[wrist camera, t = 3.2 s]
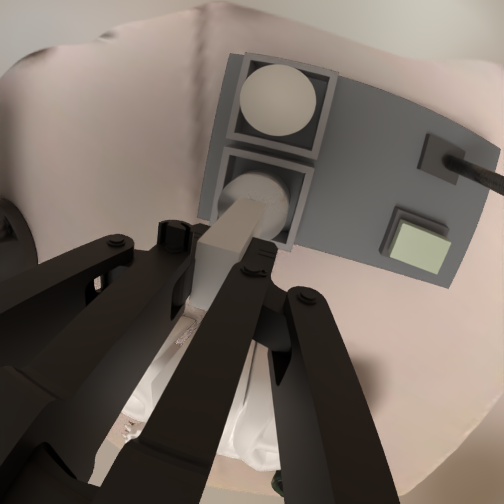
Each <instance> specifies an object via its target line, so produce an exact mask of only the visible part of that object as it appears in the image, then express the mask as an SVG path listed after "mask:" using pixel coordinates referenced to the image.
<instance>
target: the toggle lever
mask: <svg viewBox="0 0 504 504" xmlns="http://www.w3.org/2000/svg"><path fill="white" fill-rule="evenodd" d="M444 166H445V168H446V169H447V170H449V171H452V172H454V173H456V174H459V175H461V176H463V177H466V178H468V179H470V180H472V181H474V182H476V183H479V184H481V185H483V186H485V187H487V188H489V189H491V190H493V191H495V192H497V193H499V194H501V195H503V196H504V176H502V175H500V174H498V173H495V172H493V171H491V170H488V169H486V168H483V167H481V166H479V165H476V164H473V163H471V162H468V161H466V160H463V159H460V158H458V157H455V156H452V155H448V156H446V157H445V158H444Z"/></svg>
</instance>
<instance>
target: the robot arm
mask: <svg viewBox="0 0 504 504" xmlns="http://www.w3.org/2000/svg"><path fill="white" fill-rule="evenodd" d="M266 207H267V203H263V202H259V201H256V200H252V199H248V198H244V197H239V198H238V199H237V200H236V201H235V202H234V204H233V205H232V206H231V207H230V208H229V209H228V210H227V211H226V212H225V213H224V214H223V215H222V216H221V217H220V218H219V219H218V220H217V221H216V222H215V223H214V224H213V225H212V226H208V225H204V224H201V223H199V224H196V225H191V224H189V223H186V222H184V221H179V220H165V221H161V222H159V226H158V237H157V244H156V245H155V246H154V247H153V248H151V249H150V250H149V251H144V250H136V249H134V241H133V239H132V238H130V237H128V236H125V235H123V234H121V235H120V234H114V235H108V236H105V237H102V238H100V239H97V240H95V241H92V242H90V243H87V244H85V245H82V246H80V247H78V248H75V249H73V250H71V251H68V252H66V253H64V254H61V255H59V256H57V257H54V258H52V259H50V260H48V261H45V262H43V263H41V264H39V265H37V256H36V250H35V246H34V242H33V239H32V236H31V233H30V231H29V228H28V226H27V224H26V222H25V220H24V218H23V217H22V215H21V213H20V212H19V211H18V209H17V208H16V207H15V206H14V205H13V204H12V203H11V202H10V201H8V200H6V199H2V198H0V504H199V502H200V499H201V497H202V493H203V490H204V488H205V485H206V482H207V479H208V476H209V473H210V470H211V467H212V464H213V461H214V458H215V455H216V452H217V449H218V446H219V443H220V440H221V437H222V434H223V431H224V428H225V425H226V422H227V419H228V415H229V412H230V409H231V406H232V403H233V400H234V397H235V393H236V390H237V387H238V384H239V381H240V377H241V374H242V371H243V368H244V364H245V361H246V358H247V355H248V351H249V348H250V345H251V341H252V340H254V341H256V342H258V343H260V344H261V345H263V346H265V347H267V348H268V352H267V357H268V365H269V373H270V382H271V390H272V399H273V407H274V416H275V424H276V433H277V442H278V450H279V459H280V467H281V476H282V485H283V493H284V502H285V504H400V502H399V498H398V494H397V491H396V488H395V485H394V481H393V478H392V475H391V472H390V469H389V466H388V463H387V459H386V456H385V453H384V450H383V447H382V444H381V442H380V439H379V436H378V433H377V430H376V427H375V424H374V421H373V419H372V416H371V413H370V410H369V407H368V405H367V402H366V399H365V396H364V394H363V391H362V388H361V386H360V383H359V380H358V378H357V375H356V373H355V370H354V367H353V365H352V362H351V360H350V357H349V355H348V352H347V349H346V347H345V344H344V342H343V339H342V337H341V334H340V332H339V330H338V327H337V325H336V322H335V320H334V317H333V315H332V313H331V310H330V308H329V305H328V303H327V301H326V299H325V298H324V296H323V295H322V294H320V293H319V292H318V291H316V290H313V289H312V288H309V287H304V286H296V287H292V288H290V289H289V290H288V292H286V291H284V290H282V289H280V288H279V287H277V286H276V285H275V284H274V283H273V282H272V280H271V273H272V269H273V265H274V262H275V258H276V254H277V251H278V248H277V246H276V244H275V243H273V242H270V241H266V240H263V239H259V236H260V232H261V228H262V224H263V220H264V215H265V211H266ZM99 276H100V279H101V288H100V289H97V290H95V287H94V279H95V278H97V277H99ZM189 295H190V298H189V306H192V307H195V308H198V309H201V310H204V311H207V313H206V315H205V316H204V318H203V320H202V322H201V324H200V325H199V327H198V329H197V331H196V333H195V335H194V336H193V338H192V340H191V342H190V344H189V345H188V347H187V349H186V351H185V353H184V355H183V356H182V358H181V360H180V362H179V364H178V365H177V367H176V369H175V371H174V373H173V375H172V376H171V378H170V380H169V382H168V384H167V386H166V387H165V389H164V391H163V393H162V395H161V397H160V399H159V400H158V402H157V404H156V406H155V408H154V410H153V411H152V413H151V415H150V417H149V419H148V421H147V423H146V424H145V426H144V428H143V430H142V432H141V433H140V435H139V436H138V437H137V438H134V439H130V440H129V441H128V442H127V443H126V444H125V445H124V446H123V448H122V449H121V451H120V452H119V454H118V456H117V457H116V459H115V461H114V463H113V465H112V466H111V468H110V470H109V472H108V474H107V476H106V477H105V479H104V481H103V483H102V485H101V486H100V487H98V486H95V485H92V484H88V481H89V479H90V477H91V475H92V473H93V469H94V464H95V456H96V453H97V451H98V449H99V448H100V446H101V444H102V443H103V441H104V439H105V438H106V436H107V434H108V433H109V431H110V429H111V428H112V426H113V424H114V423H115V421H116V419H117V418H118V416H119V414H120V413H121V411H122V409H123V408H124V406H125V405H126V403H127V401H128V400H129V398H130V396H131V395H132V393H133V392H134V390H135V388H136V387H137V385H138V384H139V382H140V380H141V379H142V377H143V376H144V374H145V372H146V371H147V369H148V368H149V366H150V364H151V363H152V361H153V360H154V358H155V356H156V355H157V353H158V352H159V350H160V349H161V347H162V345H163V344H164V342H165V341H166V339H167V338H168V336H169V335H170V333H171V331H172V330H173V328H174V327H175V325H176V324H177V322H178V321H179V319H180V317H181V316H182V314H183V313H184V309H185V301H186V299H187V298H188V296H189Z"/></svg>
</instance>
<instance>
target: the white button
mask: <svg viewBox="0 0 504 504" xmlns="http://www.w3.org/2000/svg"><path fill="white" fill-rule="evenodd" d="M315 106H316V94H315V91H314V88H313V85H312V84H311V82H310V81H309V79H308V78H307V77H306V76H305V75H304V74H303V73H302V72H300V71H299V70H297V69H295V68H293V67H290V66H287V65H281V64H274V65H268V66H264V67H262V68H260V69H258V70H256V71H255V72H253V73H252V74H251V75H250V76H249V77H248V78H247V79H246V81H245V82H244V84H243V86H242V89H241V92H240V107H241V111H242V113H243V115H244V117H245V119H246V120H247V121H248V123H249V124H250V125H251V126H252V127H254V128H255V129H257V130H258V131H260V132H262V133H265V134H268V135H273V136H284V135H289V134H292V133H295V132H297V131H299V130H301V129H302V128H304V127H305V126H306V125H307V124H308V122H309V121H310V119H311V118H312V116H313V113H314V111H315Z"/></svg>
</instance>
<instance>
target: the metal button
mask: <svg viewBox="0 0 504 504" xmlns="http://www.w3.org/2000/svg"><path fill="white" fill-rule="evenodd" d="M239 197H244V198H248V199H252V200H256V201H259V202H263V203H267V207H266V211H265V215H264V220H263V224H262V228H261V232H260V236H259V239H263V240H266V241H269V240H271V239H273V238H274V237H275V236H277V235H278V234H279V233H280V231H281V230H282V229H283V227H284V225H285V222H286V219H287V215H288V210H289V205H290V194H289V191H288V188H287V186H286V184H285V183H284V181H283V180H282V179H281V178H280V177H279V176H278V175H276V174H275V173H273V172H271V171H268V170H264V169H253V170H249V171H246V172H244V173H242V174H241V175H240V176H238V177H237V178H235V179H234V180H233V181H231V182H230V183H229V184H228V185H227V186H226V187H225V188H224V189H223V191H222V192H221V194H220V196H219V199H218V205H217V212H218V217H219V218H220V217H221V216H222V215H223V214H224V213H225V212H226V211H227V210H228V209H229V208H230V207H231V206H232V205H233V204H234V202H235V201H236V200H237V199H238V198H239Z"/></svg>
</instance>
